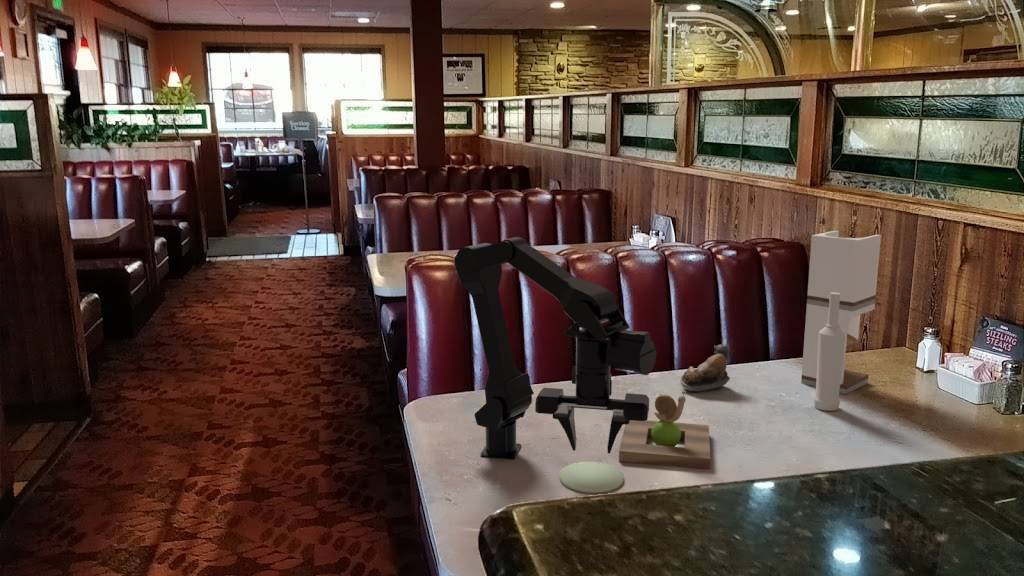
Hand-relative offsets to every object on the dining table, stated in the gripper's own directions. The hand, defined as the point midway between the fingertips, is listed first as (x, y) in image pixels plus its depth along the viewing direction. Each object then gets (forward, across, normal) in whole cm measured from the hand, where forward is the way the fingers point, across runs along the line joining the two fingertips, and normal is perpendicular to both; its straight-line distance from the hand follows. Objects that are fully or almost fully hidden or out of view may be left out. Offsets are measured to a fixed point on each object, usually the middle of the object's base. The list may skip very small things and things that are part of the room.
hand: (591, 451), depth 134 cm
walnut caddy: (+5, -12, -16) cm, 21 cm away
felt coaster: (+5, 0, 0) cm, 5 cm away
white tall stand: (+5, -49, -62) cm, 79 cm away
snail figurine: (+5, -12, -16) cm, 21 cm away
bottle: (+5, -45, -45) cm, 64 cm away
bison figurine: (+5, -20, -52) cm, 56 cm away
